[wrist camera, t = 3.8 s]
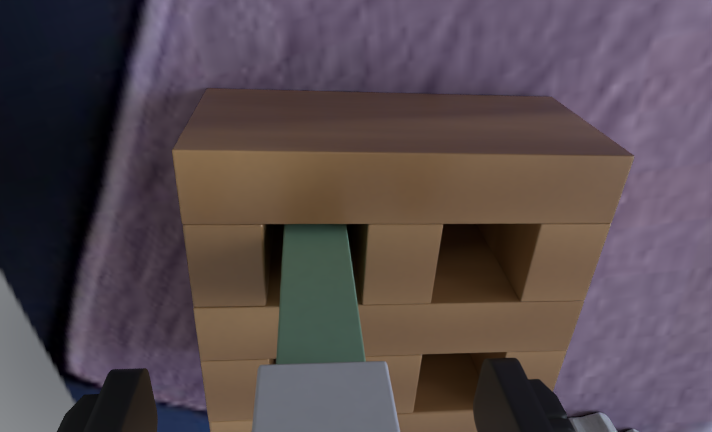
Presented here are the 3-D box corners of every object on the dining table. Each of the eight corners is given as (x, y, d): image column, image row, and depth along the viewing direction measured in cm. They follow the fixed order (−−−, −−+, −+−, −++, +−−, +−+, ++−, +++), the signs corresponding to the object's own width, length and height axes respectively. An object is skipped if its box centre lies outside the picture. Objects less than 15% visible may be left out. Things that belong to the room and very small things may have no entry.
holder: (206, 87, 19) (171, 150, 14) (552, 96, 21) (635, 156, 16) (231, 353, 26) (213, 461, 21) (490, 346, 27) (534, 445, 22)
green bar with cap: (280, 139, 21) (245, 482, 8) (344, 140, 21) (409, 473, 8) (282, 224, 23) (257, 606, 10) (341, 224, 23) (388, 596, 10)
